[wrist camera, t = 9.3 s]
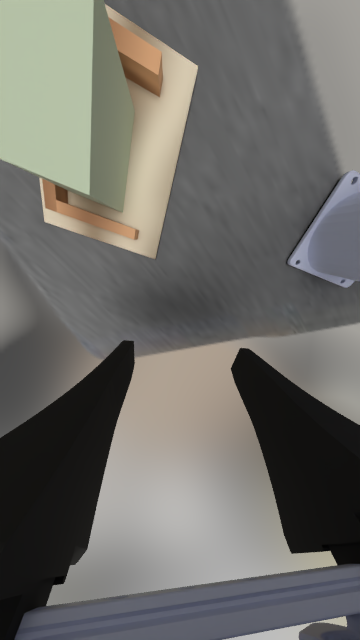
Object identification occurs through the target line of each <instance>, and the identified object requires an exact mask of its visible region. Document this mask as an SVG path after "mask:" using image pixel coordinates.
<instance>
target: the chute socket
mask: <svg viewBox="0 0 360 640" xmlns="http://www.w3.org/2000/svg"><path fill="white" fill-rule="evenodd" d="M105 7H106V11H107V14H108V18H109V21H110V25H111V28H112V32H113V35H114V39H115V43H116V46H117V50H118V53H119V57H120V60H121V64H122V67H123V71H124V75H125V78H126V82H127V85H128V89H129V92H130V96H131V99H132V103H133V107H134V110H135V114H134V122H133V131H132V140H131V148H130V157H129V165H128V174H127V183H126V191H125V200H124V208H123V213H122V212H119V211H117V210H114V209H112V208H109V207H107V206H104V205H102V204H99V203H97V202H95V201H92V200H90V199H87V198H85V197H82V196H80V195H77V194H75V193H72V192H70V191H68V190H66V189H64V188H62V187H59V186H57V185H55V184H53V183H51V182H49V181H46V180H44V179H42V178H40V177H39V178H40V187H41V195H42V204H43V212H44V221H45V222H46V223H49V224H52V225H55V226H58V227H61V228H64V229H67V230H70V231H73V232H76V233H79V234H82V235H85V236H88V237H91V238H94V239H97V240H100V241H103V242H106V243H109V244H112V245H115V246H118V247H121V248H123V249H126V250H129V251H132V252H135V253H138V254H141V255H144V256H147V257H150V258H153V259H156V254H157V250H158V245H159V241H160V236H161V232H162V227H163V223H164V218H165V214H166V210H167V205H168V201H169V196H170V192H171V187H172V183H173V178H174V174H175V169H176V165H177V161H178V156H179V152H180V147H181V143H182V138H183V134H184V129H185V125H186V120H187V116H188V112H189V107H190V103H191V98H192V94H193V89H194V85H195V80H196V76H197V70H198V66H197V65H195V64H194V63H192V62H191V61H189V60H188V59H186V58H185V57H183V56H182V55H180V54H179V53H177V52H176V51H174V50H173V49H171V48H170V47H168V46H167V45H165V44H164V43H162V42H161V41H159V40H158V39H156V38H155V37H153V36H152V35H150V34H149V33H147V32H146V31H144V30H143V29H141V28H140V27H138V26H137V25H135V24H134V23H132V22H131V21H129V20H128V19H126V18H125V17H123V16H122V15H121V14H119V13H118V12H116V11H115V10H113V9H112V8H110V7H109V6H107V5H106V4H105Z"/></svg>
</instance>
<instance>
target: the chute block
mask: <svg viewBox="0 0 360 640" xmlns="http://www.w3.org/2000/svg"><path fill="white" fill-rule="evenodd" d="M134 114H135V110H134V107H133V103H132V99H131V96H130V92H129V89H128V85H127V82H126V78H125V75H124V71H123V67H122V64H121V60H120V57H119V53H118V50H117V46H116V43H115V39H114V35H113V32H112V28H111V25H110V21H109V18H108V14H107V11H106V7H105V3H104V0H0V159H1V160H3V161H5V162H8V163H10V164H12V165H14V166H16V167H18V168H21V169H23V170H25V171H27V172H29V173H31V174H33V175H36V176H38V177H40V178H42V179H44V180H46V181H49V182H51V183H53V184H55V185H57V186H59V187H62V188H64V189H66V190H68V191H70V192H72V193H75V194H77V195H80V196H82V197H85V198H87V199H90V200H92V201H95V202H97V203H99V204H102V205H104V206H107V207H109V208H112V209H114V210H117V211H119V212H122V213H123V208H124V200H125V191H126V183H127V174H128V165H129V157H130V148H131V140H132V131H133V122H134Z"/></svg>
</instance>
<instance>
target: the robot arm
mask: <svg viewBox="0 0 360 640" xmlns="http://www.w3.org/2000/svg"><path fill="white" fill-rule="evenodd" d="M352 179H353V182H352V184H351V181H352ZM297 260H298V262H297V263H296V261H297ZM288 264H289V265H290V266H293V267H295V268H298V269H300V270H303V271H305V272H308V273H310V274H312V275H315V276H317V277H320V278H322V279H325V280H327V281H329V282H332V283H334V284H337V285H339V286H342V287H345V288H347V287H349V286H351V285H352V284H353V282H354V281H359V282H360V174H359V173H358V172H356V171H355V170H352V171H349V172H347V173H345V174H344V175H343V176H342V178H341V179H340V181H339V183H338V184H337V186H336V187H335V189H334V190H333V192H332V193H331V195H330V196H329V198H328V199H327V201H326V202H325V204H324V206H323V207H322V209H321V210H320V212H319V213H318V215H317V216H316V218H315V219H314V221H313V222H312V224H311V225H310V227H309V228H308V230H307V232H306V233H305V235H304V236H303V238H302V239H301V241H300V242H299V244H298V245H297V247H296V248H295V250H294V251H293V253H292V255H291V256H290V258H289V259H288ZM134 363H135V362H134V341H126V340H124V341H122V342H121V343H120V344H119V345H118V347H117V348H116V349H115V350H114V351H113V352H112V353H111V354H110V355H109V356H108V357H107V358H106V359H105V360H104V361H103V362H101V364H100V365H98V367H96V368H95V369H94V370H93V371H92V372H91V373H89V374H88V375H87V376H86V377H85V378H84V379H83V380H81V381H80V382H79V383H78V384H77V385H75V386H74V387H73V388H71V389H70V390H69V391H68V392H66V393H65V394H64V395H63V396H61V397H60V398H58V399H57V400H56V401H54V402H53V403H52V404H50V405H49V406H47V407H46V408H45V409H43V410H42V411H40V412H39V413H38V414H36V415H35V416H33V417H32V418H30V419H29V420H27V421H26V422H24V423H23V424H21V425H20V426H18V427H17V428H15V429H14V430H12V431H10V432H9V433H7V434H6V435H4V436H3V437H1V438H0V640H222V639H227V638H232V637H238V636H243V635H249V634H253V633H259V632H264V631H269V630H275V629H280V628H285V627H290V626H296V625H301V624H306V623H311V622H316V621H322V620H327V619H332V618H338V617H343V616H346V619H347V627H345V626H340V625H335V624H329V623H313V624H310V625H309V626H308V627H306V628H305V629H303V630H302V631H300V632H299V640H360V425H358V424H356V423H355V422H353V421H351V420H350V419H348V418H346V417H344V416H343V415H341V414H339V413H337V412H336V411H334V410H333V409H331V408H330V407H328V406H326V405H325V404H323V403H322V402H320V401H319V400H317V399H315V398H314V397H312V396H311V395H310V394H308V393H307V392H305V391H304V390H302V389H301V388H299V387H298V386H297V385H295V384H294V383H292V382H291V381H290V380H288V379H287V378H285V377H284V376H283V375H282V374H281V373H279V372H278V371H277V370H275V369H274V368H273V367H272V366H270V365H269V364H268V363H267V362H265V361H264V360H263V359H262V358H260V357H259V356H258V355H256V354H255V353H254V352H252V351H251V350H250V349H246V348H240V350H239V352H238V354H237V356H236V358H235V361H234V363H233V365H232V367H231V371H232V374H233V378H234V381H235V384H236V386H237V389H238V391H239V393H240V396H241V398H242V400H243V402H244V405H245V407H246V409H247V411H248V414H249V416H250V418H251V421H252V423H253V426H254V429H255V432H256V435H257V437H258V440H259V443H260V447H261V450H262V453H263V456H264V460H265V463H266V466H267V469H268V473H269V477H270V480H271V484H272V488H273V491H274V495H275V499H276V503H277V507H278V511H279V515H280V519H281V524H282V528H283V533H284V536H285V539H286V541H287V544H288V546H289V549H290V551H291V553H292V554H293V553H308V552H323V551H331V553H332V555H333V557H334V559H335V561H336V563H337V566H330V567H323V568H316V569H309V570H301V571H294V572H287V573H280V574H273V575H266V576H259V577H251V578H244V579H237V580H230V581H223V582H216V583H209V584H201V585H195V586H187V587H180V588H173V589H166V590H159V591H152V592H144V593H138V594H130V595H123V596H116V597H109V598H102V599H94V600H87V601H81V602H74V603H67V604H59V605H51V606H46V604H47V601H48V598H49V595H50V592H51V589H52V586H53V585H58V584H64V582H65V579H66V576H67V573H68V570H69V566H70V565H75V564H76V563H77V562H78V561H79V559H80V558H81V557H82V555H83V554H84V553H85V551H86V550H87V548H88V543H89V538H90V534H91V529H92V524H93V520H94V515H95V511H96V506H97V501H98V497H99V493H100V489H101V484H102V480H103V475H104V471H105V467H106V463H107V459H108V455H109V450H110V446H111V442H112V438H113V434H114V430H115V427H116V423H117V420H118V417H119V414H120V411H121V408H122V405H123V402H124V399H125V396H126V393H127V390H128V387H129V384H130V381H131V378H132V373H133V369H134Z"/></svg>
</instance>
